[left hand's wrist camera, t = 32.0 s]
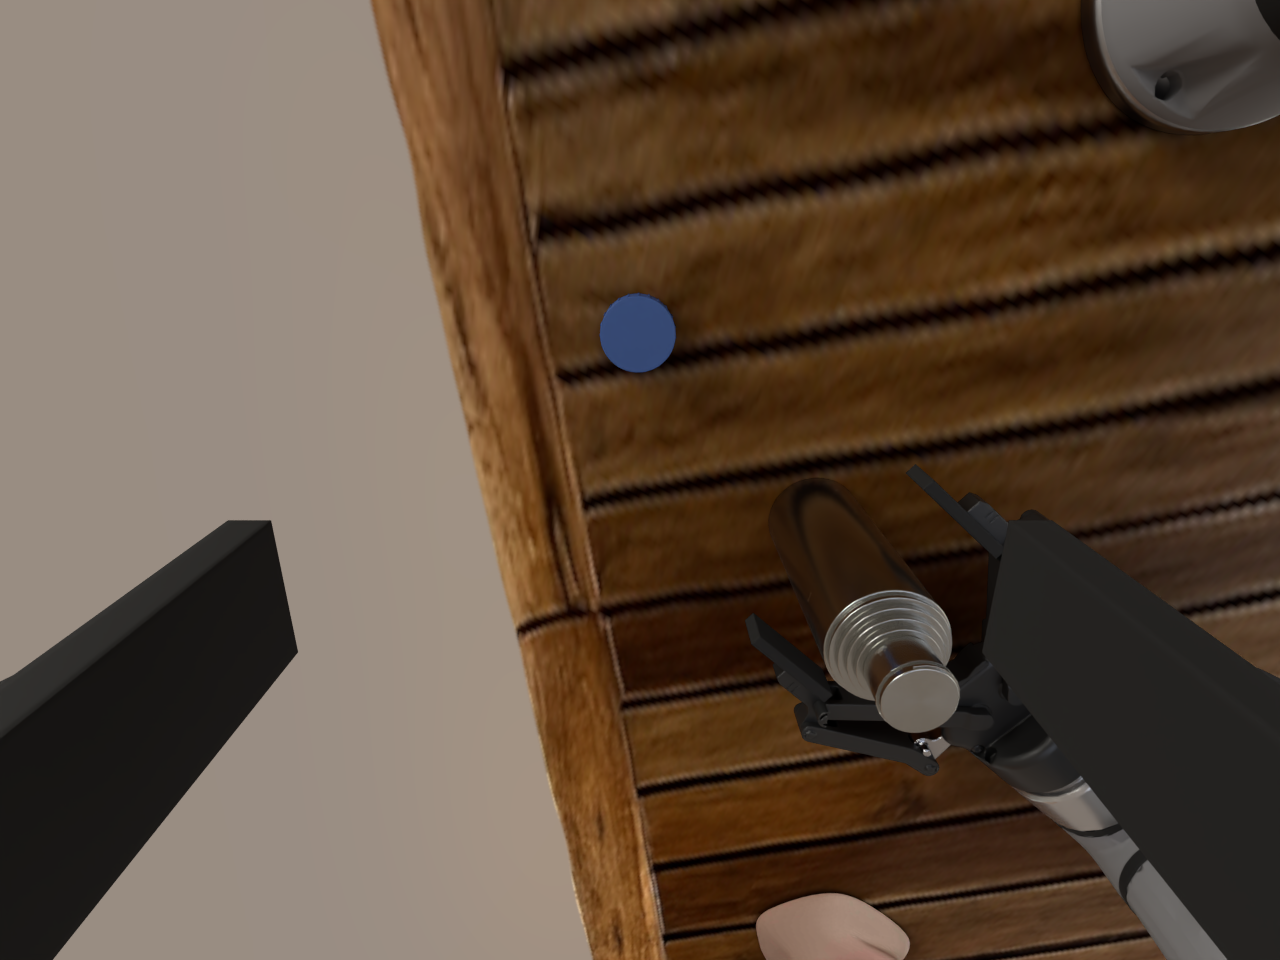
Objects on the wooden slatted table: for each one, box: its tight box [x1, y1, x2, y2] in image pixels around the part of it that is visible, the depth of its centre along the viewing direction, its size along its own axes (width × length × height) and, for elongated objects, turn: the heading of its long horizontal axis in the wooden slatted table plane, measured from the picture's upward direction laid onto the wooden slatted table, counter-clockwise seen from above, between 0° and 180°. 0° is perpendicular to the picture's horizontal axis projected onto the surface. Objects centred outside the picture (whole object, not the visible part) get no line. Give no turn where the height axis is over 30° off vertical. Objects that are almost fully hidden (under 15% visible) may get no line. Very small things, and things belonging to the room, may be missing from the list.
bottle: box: [769, 478, 960, 733], centre depth 38 cm, size 6×6×19 cm
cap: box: [600, 293, 676, 372], centre depth 42 cm, size 5×5×2 cm
